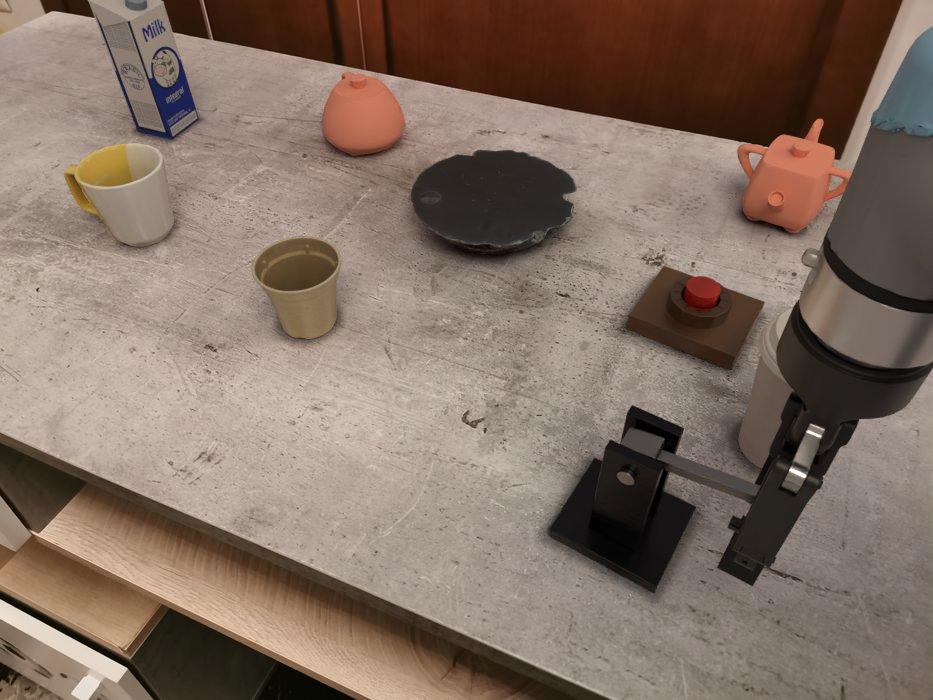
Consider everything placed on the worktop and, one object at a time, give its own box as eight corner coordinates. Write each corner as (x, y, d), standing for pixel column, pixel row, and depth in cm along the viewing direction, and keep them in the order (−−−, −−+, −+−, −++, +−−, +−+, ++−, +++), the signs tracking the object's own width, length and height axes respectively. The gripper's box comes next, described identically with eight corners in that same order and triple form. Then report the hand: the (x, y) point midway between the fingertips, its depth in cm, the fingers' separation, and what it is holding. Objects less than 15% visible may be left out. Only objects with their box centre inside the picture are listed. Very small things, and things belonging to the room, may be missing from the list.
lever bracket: (694, 513, 65) (729, 425, 56) (654, 594, 60) (686, 512, 51) (593, 464, 69) (610, 374, 60) (547, 535, 64) (559, 449, 55)
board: (378, 246, 93) (373, 213, 89) (457, 162, 106) (456, 130, 102) (536, 298, 85) (539, 264, 82) (600, 201, 99) (605, 168, 95)
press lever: (794, 485, 54) (800, 464, 52) (769, 547, 51) (775, 527, 49) (639, 429, 60) (640, 409, 58) (608, 481, 56) (608, 462, 55)
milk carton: (166, 110, 118) (122, -20, 104) (200, 118, 116) (160, -14, 102) (136, 131, 113) (86, -2, 99) (171, 140, 112) (124, 5, 97)
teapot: (847, 242, 92) (878, 172, 84) (755, 250, 91) (779, 180, 84) (799, 180, 102) (823, 113, 94) (716, 186, 101) (735, 119, 94)
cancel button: (721, 295, 80) (725, 283, 79) (710, 314, 78) (714, 302, 77) (690, 283, 81) (693, 271, 80) (678, 302, 79) (681, 290, 78)
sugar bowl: (337, 170, 105) (327, 104, 98) (313, 125, 114) (301, 61, 107) (417, 151, 108) (412, 86, 101) (387, 109, 117) (381, 46, 110)
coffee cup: (750, 496, 66) (802, 389, 56) (705, 416, 73) (745, 306, 62) (845, 478, 68) (915, 369, 57) (793, 400, 74) (847, 290, 63)
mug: (203, 223, 97) (180, 153, 89) (148, 267, 90) (117, 196, 83) (128, 197, 101) (99, 128, 94) (70, 237, 95) (34, 167, 87)
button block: (759, 315, 83) (769, 289, 80) (730, 371, 77) (740, 344, 74) (660, 279, 87) (666, 253, 85) (625, 328, 82) (631, 302, 79)
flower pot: (367, 310, 84) (358, 251, 78) (318, 362, 79) (304, 303, 73) (303, 284, 88) (289, 226, 81) (251, 333, 82) (232, 274, 76)
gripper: (839, 212, 46) (742, 433, 63) (741, 411, 35) (656, 614, 52) (969, 252, 43) (832, 472, 60) (907, 482, 32) (760, 673, 49)
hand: (750, 538), depth 56 cm, fingers closed on press lever, 6 cm apart
